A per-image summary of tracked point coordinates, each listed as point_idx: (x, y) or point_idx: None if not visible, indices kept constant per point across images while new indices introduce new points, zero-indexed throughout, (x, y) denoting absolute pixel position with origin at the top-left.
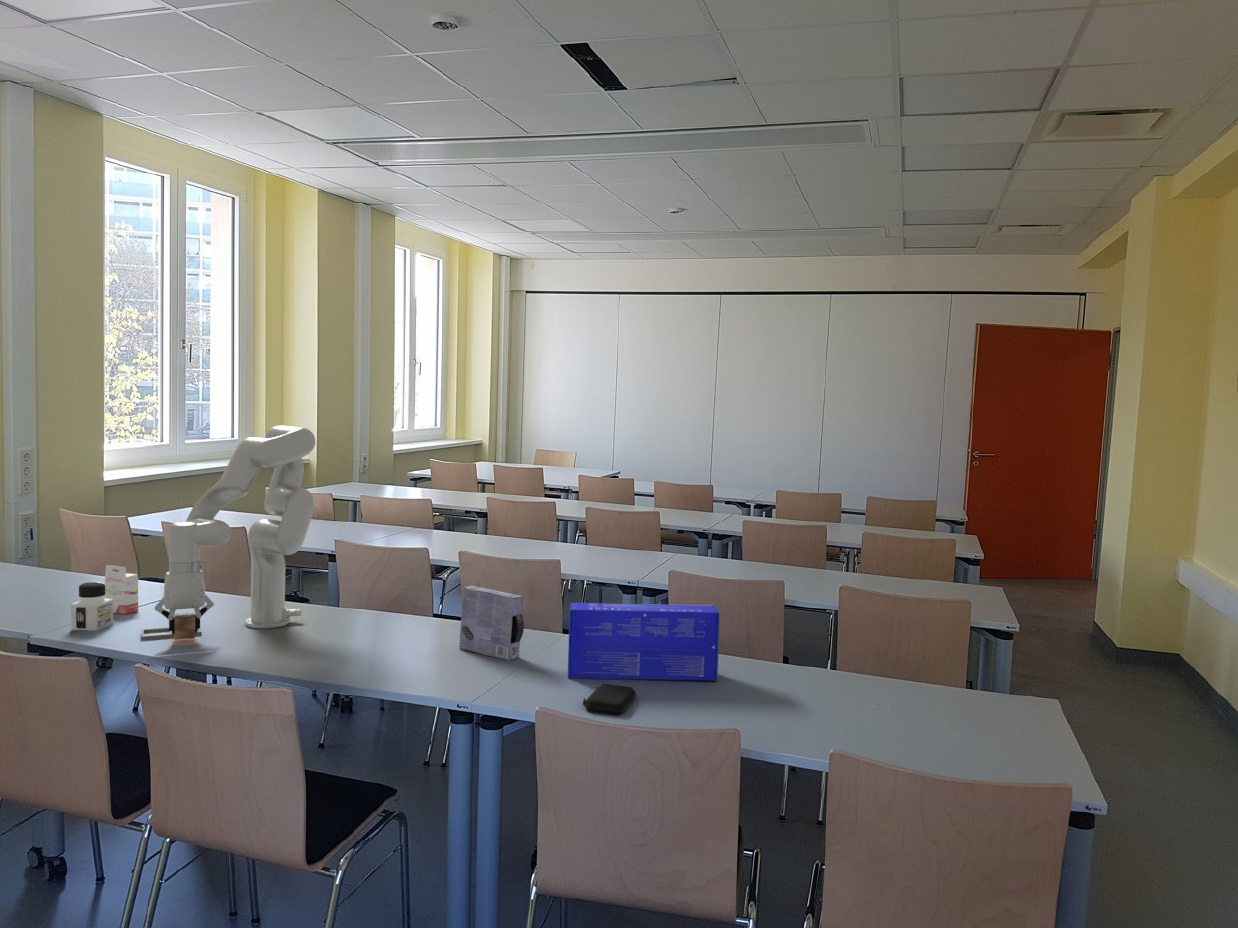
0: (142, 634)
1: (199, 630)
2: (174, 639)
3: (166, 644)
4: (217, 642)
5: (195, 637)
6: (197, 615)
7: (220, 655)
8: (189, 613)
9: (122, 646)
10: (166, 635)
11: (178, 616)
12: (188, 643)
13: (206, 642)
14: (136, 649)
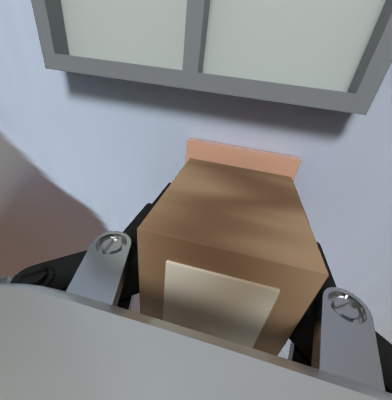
0: (40, 11)
1: (373, 70)
2: (197, 154)
3: (165, 177)
4: (353, 253)
5: (295, 168)
6: (300, 352)
7: (285, 352)
8: (261, 294)
9: (18, 121)
10: (163, 85)
11: (163, 318)
12: None
13: (314, 231)
14: (74, 186)
